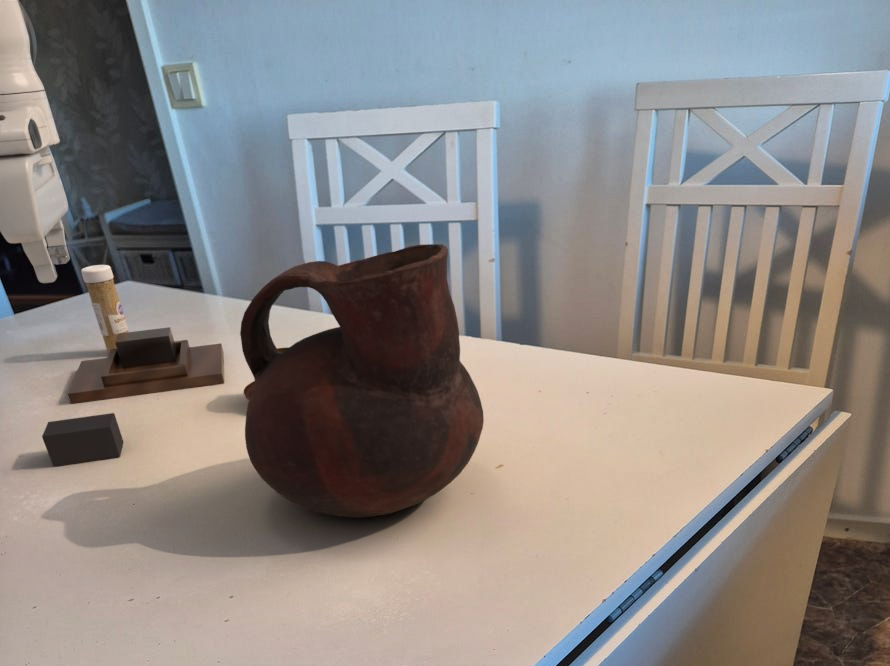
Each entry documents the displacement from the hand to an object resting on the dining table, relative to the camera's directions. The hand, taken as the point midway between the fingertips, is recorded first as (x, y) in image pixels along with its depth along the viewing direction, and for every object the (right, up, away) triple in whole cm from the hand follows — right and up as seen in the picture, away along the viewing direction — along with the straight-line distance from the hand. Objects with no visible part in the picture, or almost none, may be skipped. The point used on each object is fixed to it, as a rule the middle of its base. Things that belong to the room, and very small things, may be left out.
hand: (55, 271), depth 94 cm
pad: (-2, -18, +13) cm, 22 cm away
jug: (+36, -25, 0) cm, 44 cm away
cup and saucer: (+20, -7, +25) cm, 33 cm away
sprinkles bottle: (-13, +8, +48) cm, 51 cm away
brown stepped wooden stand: (-4, 0, +37) cm, 37 cm away
